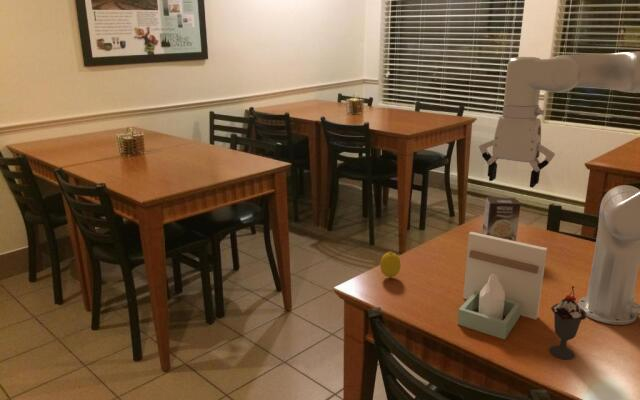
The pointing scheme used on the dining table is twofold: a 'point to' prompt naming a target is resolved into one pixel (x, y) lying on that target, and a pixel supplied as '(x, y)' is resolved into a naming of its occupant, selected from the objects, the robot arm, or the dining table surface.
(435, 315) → the dining table surface
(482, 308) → the white bottle
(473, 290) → the wall holder
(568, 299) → the sundae
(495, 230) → the coffee box
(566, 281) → the dining table surface
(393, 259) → the lemon
